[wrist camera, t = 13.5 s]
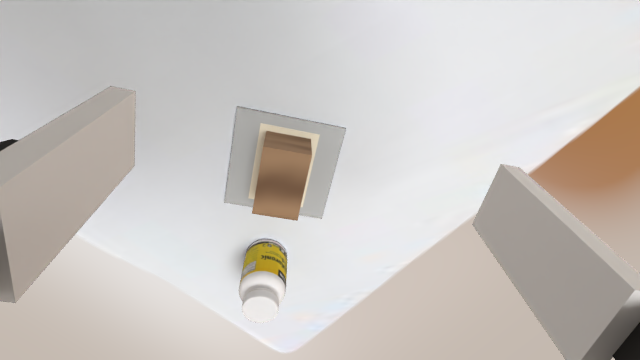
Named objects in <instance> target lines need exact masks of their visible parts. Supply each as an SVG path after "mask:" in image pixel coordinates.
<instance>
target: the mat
mask: <svg viewBox="0 0 640 360" xmlns="http://www.w3.org/2000/svg"><path fill="white" fill-rule="evenodd" d="M266 131H271V132H276V133H282V134H287V135H293V136H298V137H303V138H309V139H311V146H312V158H311V163H310V167H309V171H308V176H307V180H306V185H305V189H304V193H303V198H302V202H301V207H300V211H299V215H302V216H308V217H314V218H320V219H322V216H323V212H324V209H325V205H326V201H327V198H328V194H329V190H330V186H331V183H332V179H333V175H334V172H335V168H336V164H337V160H338V157H339V153H340V149H341V146H342V142H343V138H344V134H345V131H346V128H343V127H338V126H333V125H328V124H323V123H318V122H313V121H308V120H303V119H298V118H293V117H288V116H283V115H278V114H273V113H268V112H263V111H258V110H253V109H248V108H243V107H237V112H236V120H235V127H234V135H233V142H232V150H231V157H230V165H229V172H228V180H227V187H226V194H225V202H224V203H230V204H236V205H242V206H248V207H253V204H254V198H255V192H256V186H257V180H258V174H259V168H260V161H261V155H262V149H263V144H264V139H265V135H266Z"/></svg>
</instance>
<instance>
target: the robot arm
mask: <svg viewBox="0 0 640 360" xmlns="http://www.w3.org/2000/svg"><path fill="white" fill-rule="evenodd" d="M134 163H135V91H132V90H127V89H122V88H117V87H112V86H110V87H109V88H107V89H105V90H104V91H102V92H100V93H99V94H97V95H95V96H93V97H92V98H90V99H88V100H87V101H85V102H83V103H82V104H80V105H78V106H76V107H75V108H73V109H71V110H70V111H68V112H66V113H65V114H63V115H61V116H59V117H58V118H56V119H54V120H53V121H51V122H49V123H48V124H46V125H44V126H42V127H41V128H39V129H37V130H36V131H34V132H32V133H31V134H29V135H27V136H25V137H24V138H22V139H20V140H13V139H11V140H7V141H3V142H0V301H3V302H12V303H16V302H17V301H18V300H19V298H20V297H21V296H22V295H23V294H24V293H25V291H26V290H27V289H28V288H29V287H30V286H31V285H32V283H33V282H34V281H35V280H36V279H37V278H38V277H39V275H40V274H41V273H42V272H43V270H45V268H46V267H47V266H48V265H49V264H50V262H52V260H53V259H54V258H55V257H56V256H57V255H58V253H59V252H60V251H61V250H62V249H63V248H64V247H65V245H66V244H67V243H68V242H69V241H70V240H71V238H72V237H73V236H74V235H75V234H76V233H77V232H78V230H79V229H80V228H81V227H82V226H83V225H84V224H85V222H86V221H87V220H88V219H89V218H90V217H91V215H92V214H93V213H94V212H95V211H96V210H97V209H98V207H99V206H100V205H101V204H102V203H103V202H104V200H105V199H106V198H107V197H108V196H109V195H110V194H111V192H112V191H113V190H114V189H115V188H116V187H117V185H118V184H119V183H120V182H121V181H122V180H123V179H124V177H125V176H126V175H127V174H128V173H129V172H130V170H131V169H132V168H133V167H134ZM472 225H473V226H474V227H475V229H476V231H477V232H478V234H479V235H480V237H481V238H482V239H483V241H484V242H485V244H486V245H487V247H488V248H489V249H490V251H491V253H492V254H493V255H494V257H495V258H496V260H497V261H498V263H499V264H500V265H501V267H502V268H503V270H504V271H505V273H506V274H507V276H508V277H509V279H510V280H511V281H512V283H513V284H514V286H515V287H516V289H517V290H518V292H519V293H520V294H521V296H522V297H523V299H524V300H525V302H526V303H527V305H528V306H529V308H530V309H531V311H532V312H533V313H534V315H535V316H536V318H537V319H538V321H539V322H540V324H541V325H542V326H543V328H544V329H545V331H546V332H547V333H548V335H549V337H550V338H551V339H552V341H553V342H554V344H555V345H556V347H557V348H558V350H559V351H560V353H561V354H562V355H563V357H564V358H565V360H611V359H612V357H614V358H615V360H640V273H639V272H638V271H637V270H636V269H634V268H633V267H632V266H631V265H630V264H629V263H628V262H626V261H625V260H624V259H623V258H622V257H621V256H620V255H618V254H617V253H616V252H615V251H614V250H613V249H611V247H609V246H608V245H607V244H606V243H605V242H604V241H603V240H601V239H600V238H599V237H598V236H597V235H595V233H593V232H592V231H591V230H590V229H589V228H588V227H587V226H585V225H584V224H583V223H582V222H581V221H580V220H579V219H577V218H576V217H575V216H574V215H573V214H572V213H571V212H569V211H568V210H567V209H566V208H565V207H564V206H563V205H561V204H560V203H559V202H558V201H557V200H556V199H554V197H552V196H551V195H550V194H549V193H548V192H547V191H545V190H544V189H543V188H542V187H541V186H540V185H539V184H537V183H536V182H535V181H534V180H533V179H532V178H531V177H530V176H528V175H527V174H526V173H525V172H524V171H523V170H522V169H520V168H519V167H514V166H509V165H504V164H501V165H500V167H499V169H498V171H497V173H496V175H495V178H494V180H493V182H492V184H491V186H490V188H489V190H488V192H487V194H486V196H485V198H484V201H483V203H482V205H481V207H480V209H479V211H478V213H477V215H476V217H475V219H474V222H473V224H472Z"/></svg>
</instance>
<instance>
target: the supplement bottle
mask: <svg viewBox="0 0 640 360" xmlns="http://www.w3.org/2000/svg"><path fill="white" fill-rule="evenodd" d="M286 274H287V253H286V250H285V249H284V247H283V246H282V245H281V244H279V243H278V242H276V241H273V240H268V239H264V240H259V241H256V242H254V243H253V244H252V245H251V246H250V247H249V248H248V250H247V252H246V255H245V260H244V266H243V271H242V276H241V281H240V286H239V295H240V298H241V300H242V301H243V304H242V312H243V315H244V316H245V317H246V318H247V319H248V320H250V321H252V322H255V323H266V322H269V321H271V320H273V319H274V318H275V317H276V316H277V314H278V309H279V304H280V303H281V302H282V300H283V299H284V296H285V292H286Z"/></svg>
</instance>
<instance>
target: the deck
mask: <svg viewBox="0 0 640 360" xmlns="http://www.w3.org/2000/svg"><path fill="white" fill-rule="evenodd" d="M311 158H312V146H311V139H309V138H303V137H298V136H293V135H287V134H282V133H276V132H271V131H266V135H265V139H264V144H263V149H262V155H261V161H260V168H259V174H258V180H257V186H256V192H255V198H254V204H253V211H252V214H259V215H265V216H271V217H278V218H284V219H291V220H298V216H299V211H300V207H301V202H302V198H303V193H304V189H305V185H306V180H307V176H308V171H309V167H310V163H311Z"/></svg>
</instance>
